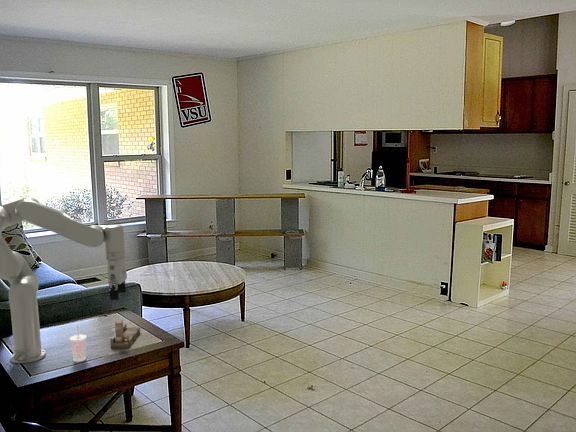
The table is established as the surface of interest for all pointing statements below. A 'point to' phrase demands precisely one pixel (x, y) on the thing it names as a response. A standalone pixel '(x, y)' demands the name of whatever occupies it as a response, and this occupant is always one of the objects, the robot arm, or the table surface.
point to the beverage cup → (78, 346)
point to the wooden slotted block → (125, 343)
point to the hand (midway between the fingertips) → (118, 295)
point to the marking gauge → (119, 332)
